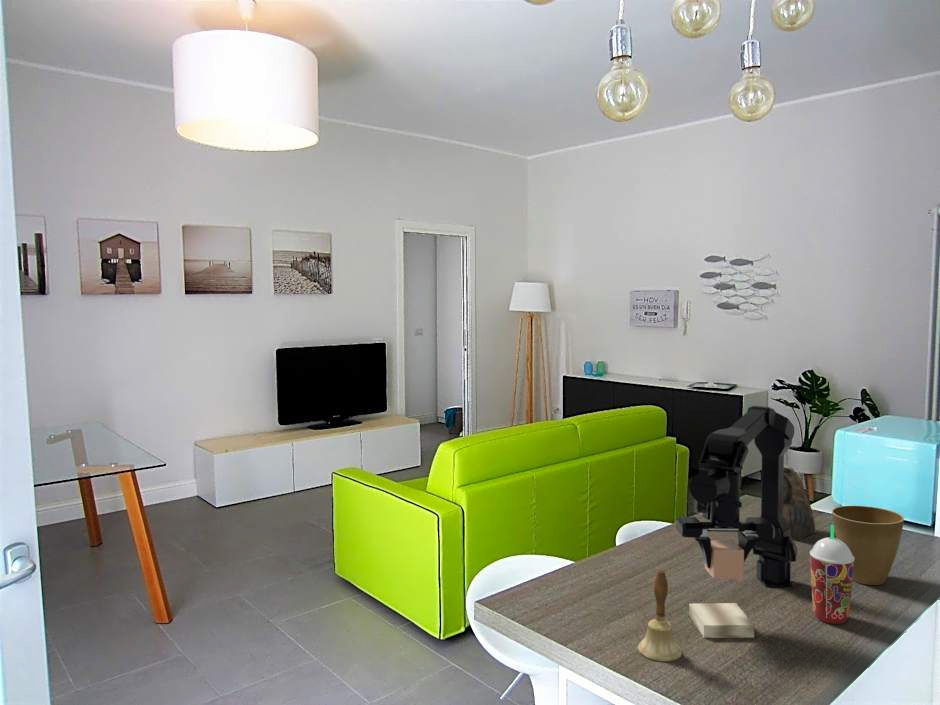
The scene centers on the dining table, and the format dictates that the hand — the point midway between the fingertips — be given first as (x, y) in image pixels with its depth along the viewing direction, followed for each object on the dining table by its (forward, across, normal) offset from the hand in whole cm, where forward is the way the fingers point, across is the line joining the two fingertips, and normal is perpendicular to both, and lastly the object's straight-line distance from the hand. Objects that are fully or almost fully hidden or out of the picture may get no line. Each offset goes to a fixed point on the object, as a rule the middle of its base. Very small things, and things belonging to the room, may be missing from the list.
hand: (723, 567), depth 143 cm
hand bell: (+13, +16, +11) cm, 23 cm away
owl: (+10, -38, -55) cm, 67 cm away
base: (+12, +1, +1) cm, 12 cm away
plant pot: (+11, -41, -22) cm, 48 cm away
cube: (+1, 0, 0) cm, 1 cm away
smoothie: (+12, -23, -2) cm, 26 cm away
